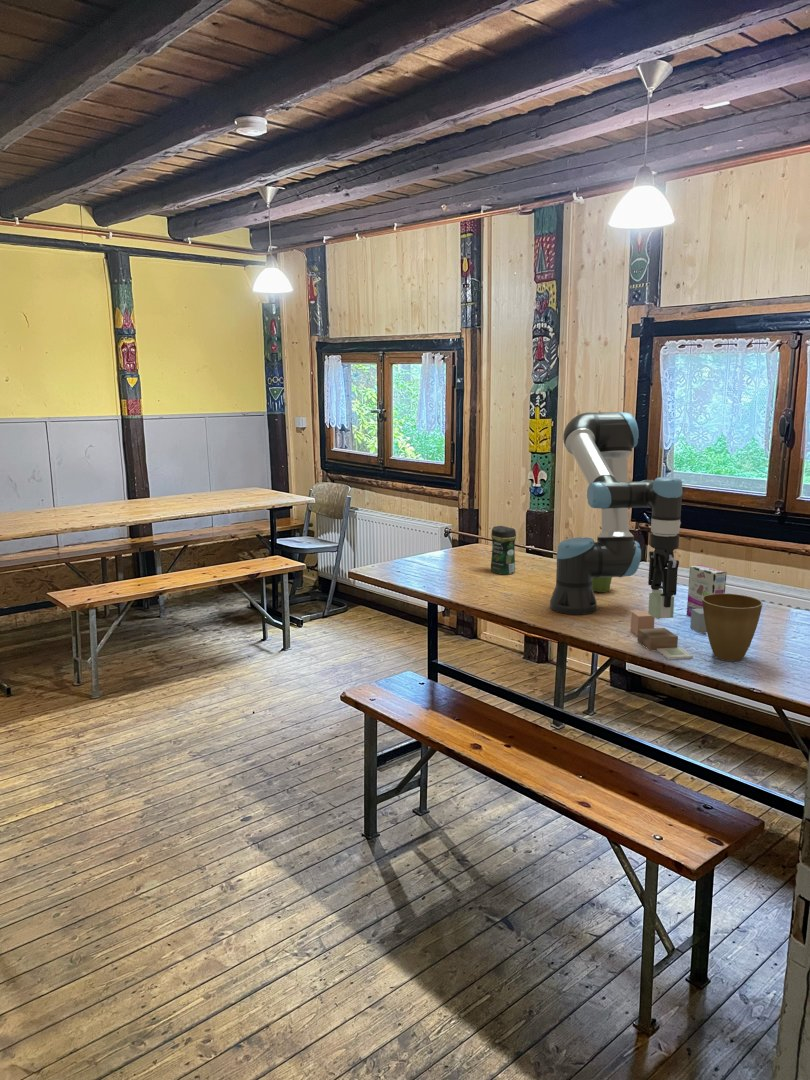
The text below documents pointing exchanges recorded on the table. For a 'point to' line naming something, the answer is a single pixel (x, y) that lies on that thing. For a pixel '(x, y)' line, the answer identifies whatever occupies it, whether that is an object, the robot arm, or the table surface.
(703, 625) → the slate block
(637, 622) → the terracotta block
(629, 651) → the table surface
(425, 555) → the table surface
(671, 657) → the tile
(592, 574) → the robot arm
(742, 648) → the plant pot
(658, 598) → the sage block
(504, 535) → the coffee jar
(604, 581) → the plant pot
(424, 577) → the table surface
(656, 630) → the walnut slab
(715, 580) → the candy bar box
